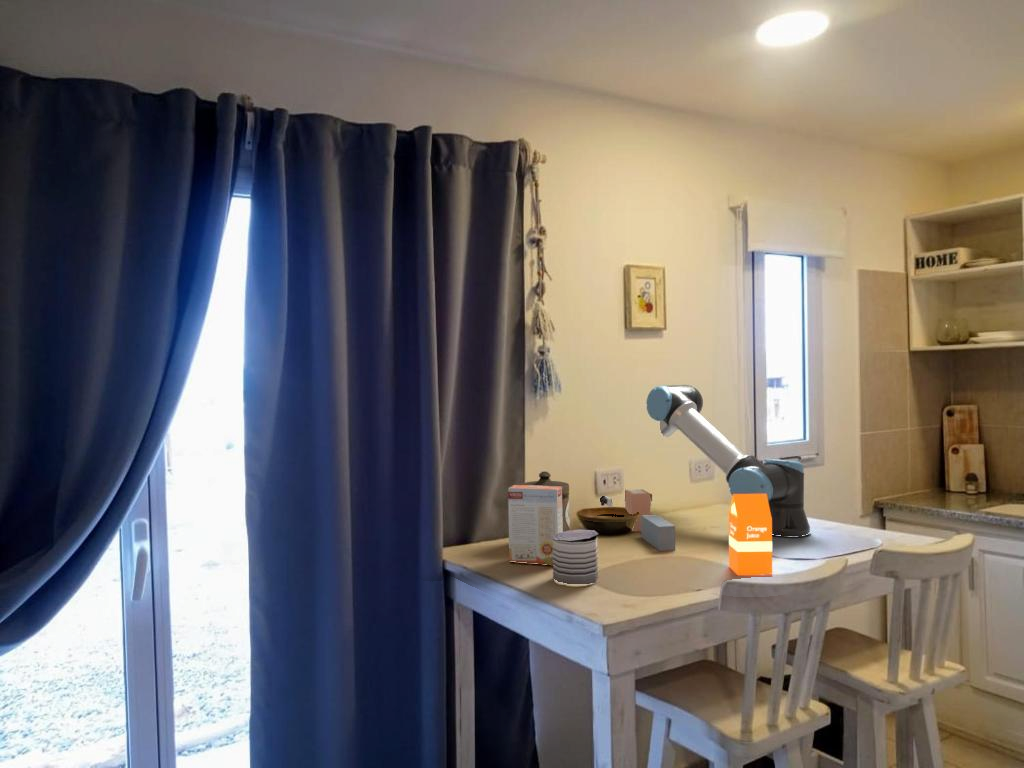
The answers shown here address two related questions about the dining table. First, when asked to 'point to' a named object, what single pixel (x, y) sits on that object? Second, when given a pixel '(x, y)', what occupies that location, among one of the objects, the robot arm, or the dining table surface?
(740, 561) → the orange juice
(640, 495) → the stub tab
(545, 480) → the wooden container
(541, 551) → the cracker box
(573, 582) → the can
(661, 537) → the pad
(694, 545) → the dining table surface
